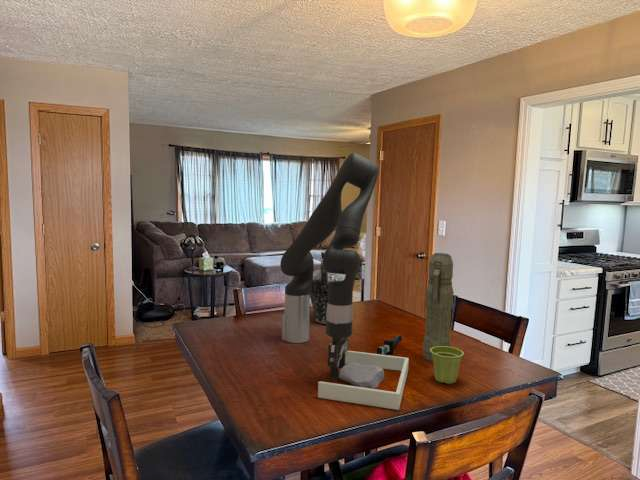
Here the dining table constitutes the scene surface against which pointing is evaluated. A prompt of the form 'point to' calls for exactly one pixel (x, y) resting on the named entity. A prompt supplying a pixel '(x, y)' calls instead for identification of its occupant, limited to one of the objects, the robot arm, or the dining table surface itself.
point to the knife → (389, 345)
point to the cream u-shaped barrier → (367, 394)
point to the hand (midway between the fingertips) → (337, 373)
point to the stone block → (362, 375)
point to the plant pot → (446, 363)
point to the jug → (322, 291)
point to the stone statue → (438, 303)
